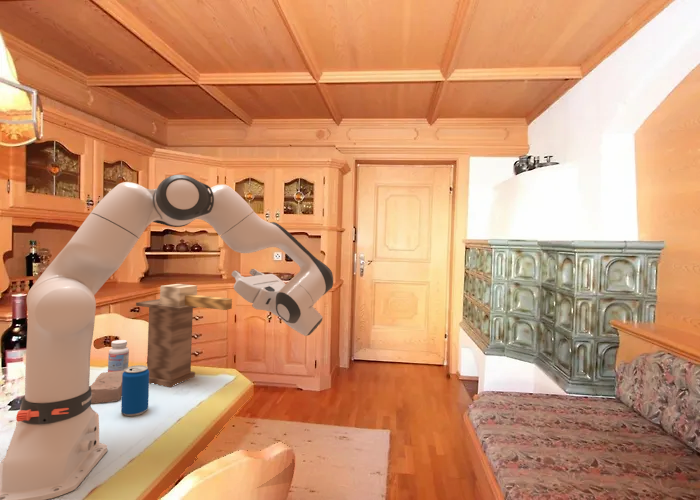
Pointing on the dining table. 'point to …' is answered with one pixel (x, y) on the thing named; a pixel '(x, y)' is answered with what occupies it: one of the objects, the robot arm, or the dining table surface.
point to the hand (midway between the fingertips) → (242, 271)
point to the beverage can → (135, 390)
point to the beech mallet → (191, 297)
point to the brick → (107, 387)
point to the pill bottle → (118, 356)
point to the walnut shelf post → (169, 343)
